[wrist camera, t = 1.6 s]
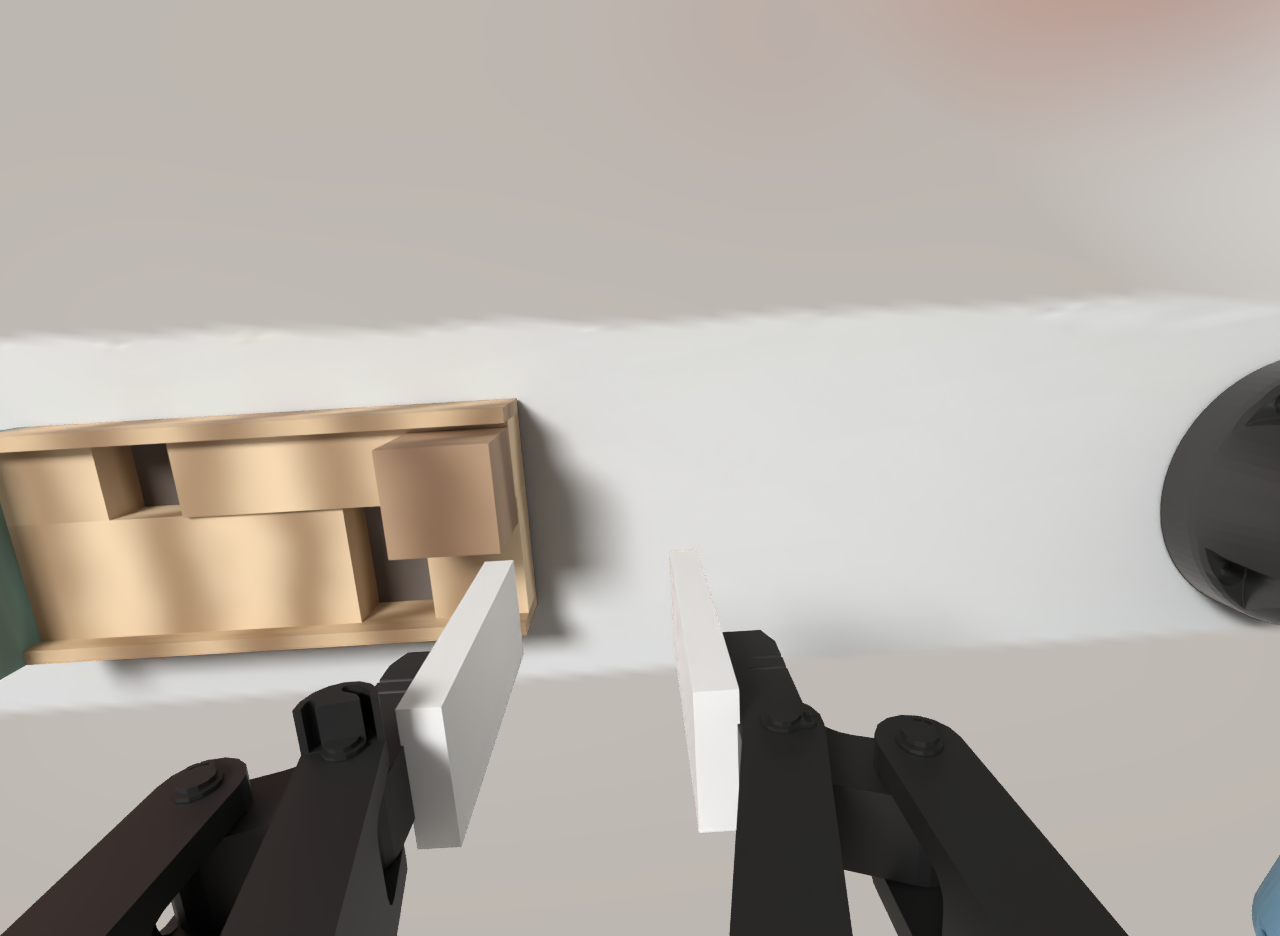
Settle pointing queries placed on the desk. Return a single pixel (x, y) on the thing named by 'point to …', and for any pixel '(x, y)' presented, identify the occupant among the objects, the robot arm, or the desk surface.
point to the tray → (225, 536)
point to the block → (446, 493)
